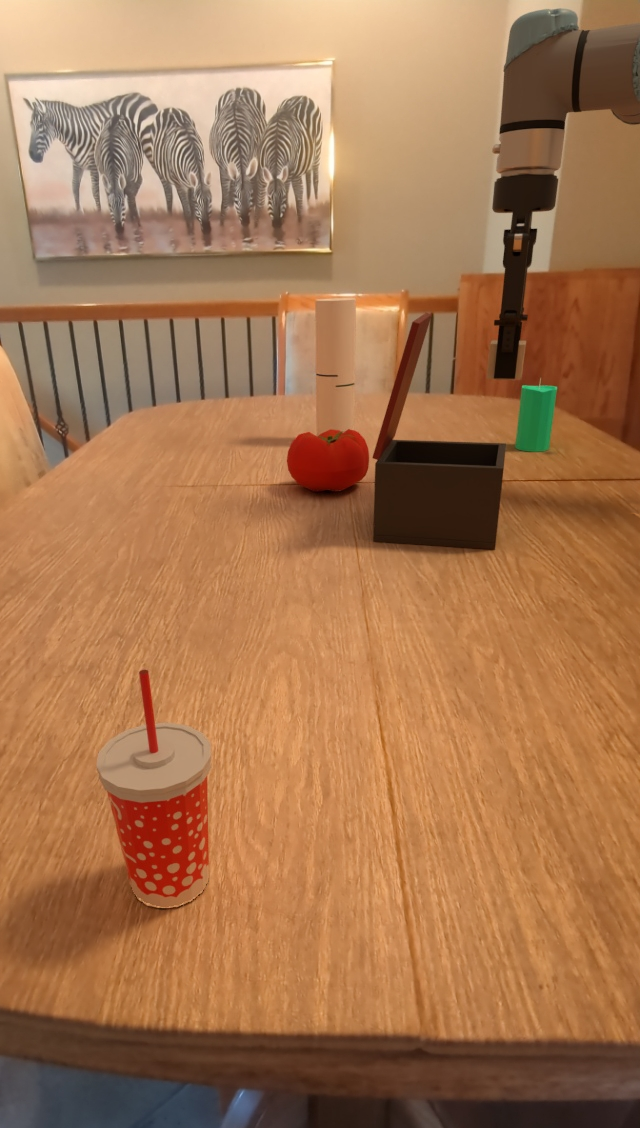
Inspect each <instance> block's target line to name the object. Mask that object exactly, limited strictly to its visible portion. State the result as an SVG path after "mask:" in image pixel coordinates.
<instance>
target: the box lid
mask: <svg viewBox="0 0 640 1128" xmlns="http://www.w3.org/2000/svg"><path fill="white" fill-rule="evenodd" d="M432 316H433V315H432V313H429V312H425V313H423V314H422V315H420V316H419V317H418V318H416V319H414V320H413V321H412V322H411V326H410V328H409V332H408V335H407V339H406V342H405V346H404V350H403V352H402V355H401V358H400V363H399V366H398V370H397V373H396V376H395V380H394V383H393V387H392V389H391V393H390V397H389V400H388V403H387V407H386V410H385V413H384V418H383V420H382V424H381V427H380V431H379V434H378V437H377V441H376V444H375V448H374V452H373V454H372V459H373V460H376V461H377V460H379V459H380V457H381V456H382V454H383V453H384V451H385V450H386V448H387V447H388V445H389V444H390V443H391V441H392V440H394V438H395V437H396V434H397V430H398V427H399V424H400V420H401V417H402V414H403V411H404V407H405V404H406V402H407V401H406V400H407V397H408V394H409V390H410V387H411V384H412V381H413V378H414V375H415V371H416V368H417V365H418V361H419V358H420V355H421V352H422V348H423V345H424V341H425V338H426V337H427V336H426V335H427V332H428V328H429V325H430V322H431V319H432Z"/></svg>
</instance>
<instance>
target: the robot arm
mask: <svg viewBox="0 0 640 1128" xmlns="http://www.w3.org/2000/svg"><path fill="white" fill-rule="evenodd" d="M502 83H503V84H502V97H501V111H500V112H501V113H500V125H499V132H498V133H499V137H498V141H499V142H500V143H496V144H494V145H493V147H492V151H491V152H492V153H493V155H494V154H495V155H498V156H497V157H496V167H495V171H496V172H497V174H500V177H498V178H496V180H495V181H494V184H493V197H492V208H491V209H492V211H493V212H494V213H495V214H496V213H497V214H511V223H510V229H509V228H508V229H504V230H503V237H502V243H503V246H504V247H503V257H502V267H503V269H504V275H503V283H502V284H503V285H502V295H501V305H500V313H499V315H498V319H494V320H493V326H495V327H497V326H498V331H497V340H498V342H497V352H496V362H495V371H494V378H502V379H515V374H516V365H517V356H518V347H519V341H521V339H522V338H521V337H522V328H523V322H527V321H528V316H529V314H524V312H525V307H524V304H525V303H524V302H525V294H526V286H527V285H526V284H527V278H528V270H529V268H530V267H531V266H532V262H533V256H534V255H533V253H534V246H535V245H536V242H537V238H538V237H537V236H538V228H532V222H533V213H543V212H550V211H552V210H554V208H555V207H556V204H557V203H556V202H557V196H558V195H557V193H558V186H559V178H558V176H557V175H555V172H556V171H559V170H560V168H561V166H562V159H563V149H564V141H565V133H566V130H565V129H566V119H567V115H568V113H582V112H591V111H592V112H593V111H603V110H604V111H605V110H610V111H611V112H612V114H613V116H614V117H615V118H616V119H618V120H619V121H621V122H622V123H624V124H626V125H630V126H636V125H640V22H634V23H627V24H620V25H616V26H615V25H614V26H608V27H603V28H602V27H601V28H596V29H587V30H584V29H580V28H579V17H578V14H577V13H576V11H574V10H572V9H568V8H561V7H560V8H554V9H553V8H552V9H551V8H544V9H537V10H534V11H529V12H527V13H524V14H522V15H520V16H519V17H518V18H516V19H515V20H514V21H513V23H512V25H511V26H510V29H509V35H508V43H507V49H506V57H505V63H504V65H503V82H502Z"/></svg>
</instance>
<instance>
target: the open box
mask: <svg viewBox="0 0 640 1128" xmlns="http://www.w3.org/2000/svg"><path fill="white" fill-rule="evenodd" d="M506 448H507V443H504V442H479V441H478V442H477V441H476V442H473V441H447V440H446V441H444V440H443V441H441V440H415V439H414V440H411V439H393V440H392V441H391V443H390V444H389V445H388V447H387V448H386V450H385V451H384V453H383V454H382V456H381V457H380V459H379V460H376V462H375V464H374V495H373V496H374V497H373V501H374V502H373V530H372V531H373V532H372V533H373V534H372V541H373V543H374V542H377V543H392V544H405V545H406V544H407V545H419V546H433V547H434V546H435V547H451V548H462V549H463V548H464V549H479V550H493V551H495V550H496V545H497V536H498V535H497V534H498V526H499V515H500V507H501V496H502V487H503V478H504V469H505V459H506V450H507V449H506Z"/></svg>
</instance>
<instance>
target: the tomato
mask: <svg viewBox="0 0 640 1128" xmlns="http://www.w3.org/2000/svg"><path fill="white" fill-rule="evenodd" d="M342 432H343V431H342ZM342 432H341V431H340V430H332V429H330V430H328V431H326V432H323V433H321V434H320V435H319V436H317V435H315V434H314V433H312V432H310V431H307V432H302V433H299V434H298V435H297V436H296V437H295V438H294V439H293V440H292V442H291V443H290V446H289V448H288V450H287V456H286V464H287V470H288V473H289V474H290V476H291V478H292V479H293V480H294V481H295V482H296V484H297V485H298V486H300V487H303V488H305V489H308V490H310V491H312V492H315V493H317V492H324V491H330V492H342V491H344V490H346V489H348V488H351V487H352V486H354V485H355V484H357V483H360V481H362V480H363V479H364V478H365V477H366V476H367V473H368V471H369V467H370V450H369V447H368V443H367V441H366V439H365V437H363V436H362V435H361V433H360V432H359V431H356V430H355V429H354V430H350V429H348V430H346V431H345V432H344V433H342Z"/></svg>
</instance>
